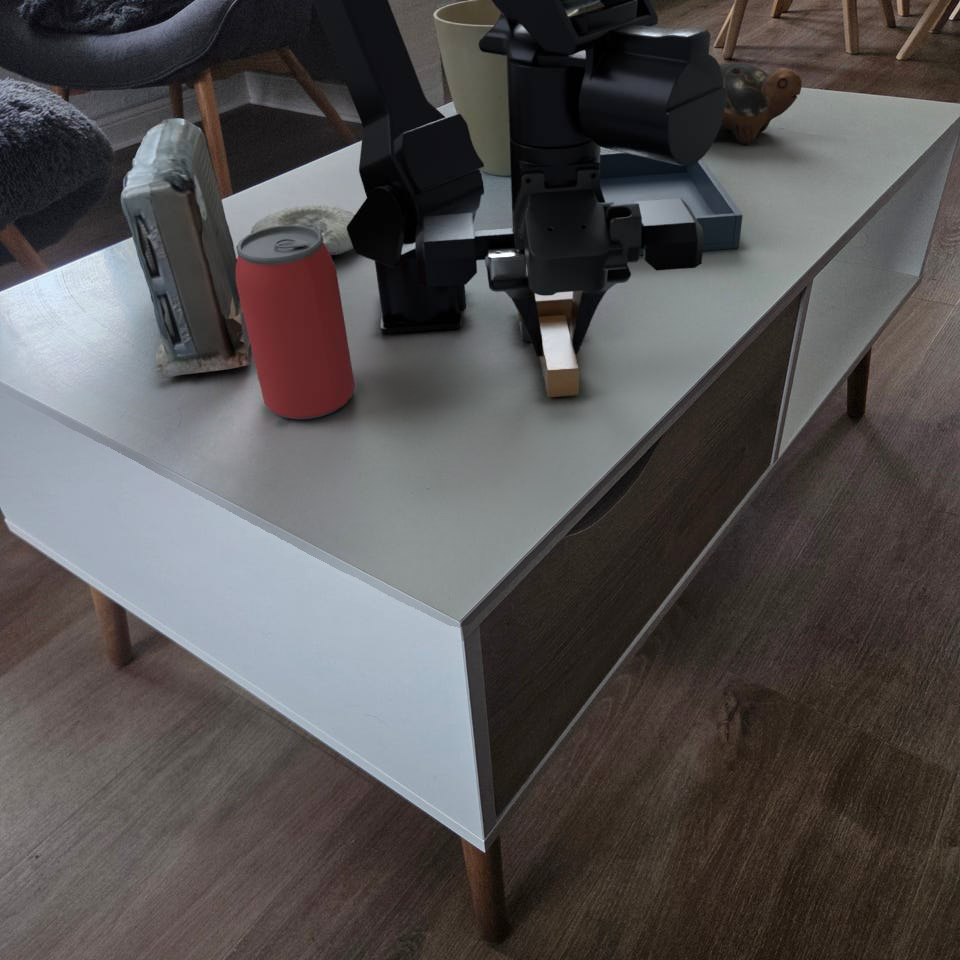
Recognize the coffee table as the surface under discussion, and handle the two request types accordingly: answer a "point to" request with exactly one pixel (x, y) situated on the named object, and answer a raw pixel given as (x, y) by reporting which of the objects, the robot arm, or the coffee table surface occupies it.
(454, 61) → the plant pot
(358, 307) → the coffee table surface
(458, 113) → the robot arm
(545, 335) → the brush
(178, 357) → the radio
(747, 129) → the decorative turtle
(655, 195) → the tray
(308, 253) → the beer can
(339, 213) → the fossil
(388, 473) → the coffee table surface
